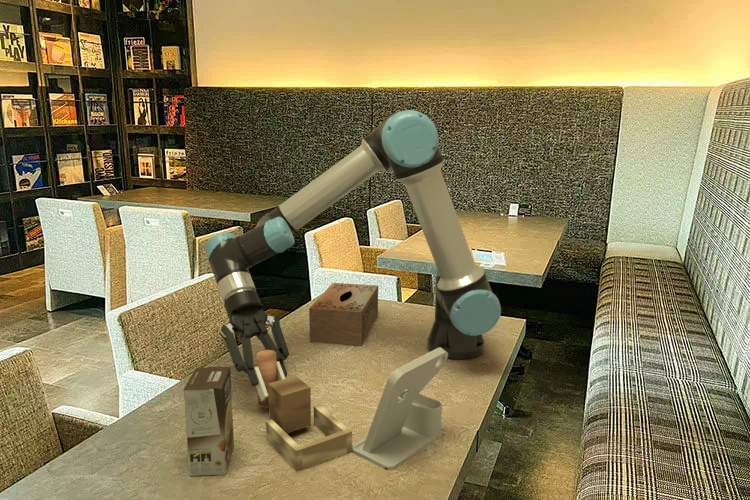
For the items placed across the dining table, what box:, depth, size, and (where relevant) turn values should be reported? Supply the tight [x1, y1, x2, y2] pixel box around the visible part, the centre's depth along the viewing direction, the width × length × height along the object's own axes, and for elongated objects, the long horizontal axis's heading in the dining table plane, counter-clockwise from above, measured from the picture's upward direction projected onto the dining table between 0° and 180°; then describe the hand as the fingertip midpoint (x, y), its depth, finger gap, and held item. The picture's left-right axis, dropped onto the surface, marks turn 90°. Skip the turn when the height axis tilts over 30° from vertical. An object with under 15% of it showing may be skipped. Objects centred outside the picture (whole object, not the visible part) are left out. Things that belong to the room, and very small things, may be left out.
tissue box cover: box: [308, 282, 379, 347], centre depth 167 cm, size 26×14×10 cm, turn 170°
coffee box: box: [183, 366, 235, 477], centre depth 100 cm, size 9×6×16 cm
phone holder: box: [351, 347, 448, 471], centre depth 107 cm, size 17×10×18 cm, turn 139°
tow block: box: [255, 349, 312, 434], centre depth 115 cm, size 15×6×11 cm, turn 35°
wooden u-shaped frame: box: [265, 404, 353, 473], centre depth 107 cm, size 12×11×4 cm
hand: (275, 395), depth 116 cm, fingers closed on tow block, 4 cm apart
